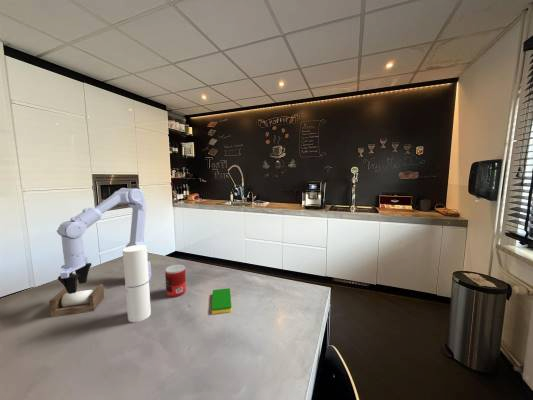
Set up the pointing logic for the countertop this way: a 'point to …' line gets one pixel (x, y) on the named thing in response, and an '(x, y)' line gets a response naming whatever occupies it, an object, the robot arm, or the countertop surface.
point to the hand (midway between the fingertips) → (77, 287)
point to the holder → (94, 301)
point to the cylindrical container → (137, 282)
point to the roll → (76, 298)
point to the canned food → (175, 280)
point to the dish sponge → (221, 301)
